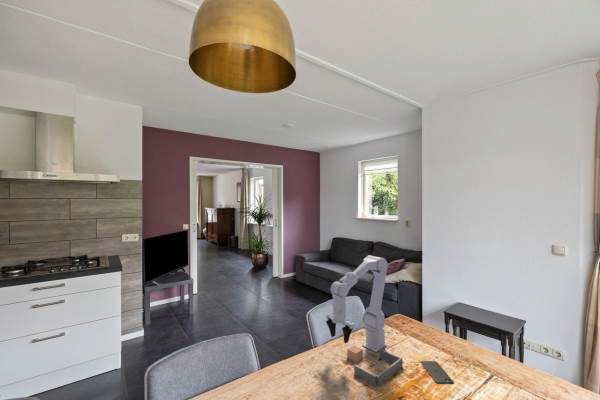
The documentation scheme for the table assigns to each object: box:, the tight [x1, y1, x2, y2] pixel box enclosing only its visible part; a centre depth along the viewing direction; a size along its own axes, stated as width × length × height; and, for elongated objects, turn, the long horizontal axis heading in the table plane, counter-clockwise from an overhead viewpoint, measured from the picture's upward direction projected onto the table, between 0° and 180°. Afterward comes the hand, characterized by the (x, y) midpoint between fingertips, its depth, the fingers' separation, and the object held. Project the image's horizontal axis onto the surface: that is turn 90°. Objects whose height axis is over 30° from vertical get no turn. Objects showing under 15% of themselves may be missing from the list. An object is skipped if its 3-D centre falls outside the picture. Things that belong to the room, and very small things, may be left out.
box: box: [353, 348, 403, 388], centre depth 114 cm, size 20×11×4 cm, turn 132°
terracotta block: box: [346, 345, 364, 363], centre depth 123 cm, size 5×5×4 cm
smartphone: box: [420, 360, 455, 385], centre depth 113 cm, size 7×1×15 cm
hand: (339, 339), depth 122 cm, fingers open, 7 cm apart
